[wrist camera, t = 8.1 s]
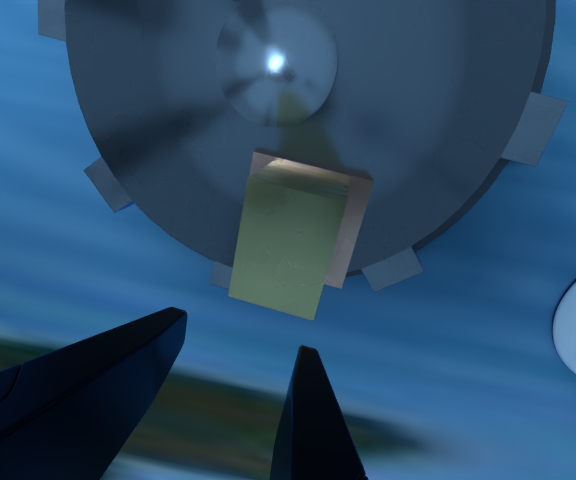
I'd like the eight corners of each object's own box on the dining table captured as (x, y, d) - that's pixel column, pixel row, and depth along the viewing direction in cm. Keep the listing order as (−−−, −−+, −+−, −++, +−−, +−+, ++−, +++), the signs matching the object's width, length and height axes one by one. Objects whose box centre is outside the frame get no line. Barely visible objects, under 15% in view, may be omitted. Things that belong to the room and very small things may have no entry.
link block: (322, 276, 18) (313, 320, 14) (254, 258, 19) (227, 296, 15) (349, 180, 16) (346, 202, 13) (272, 161, 17) (247, 177, 13)
